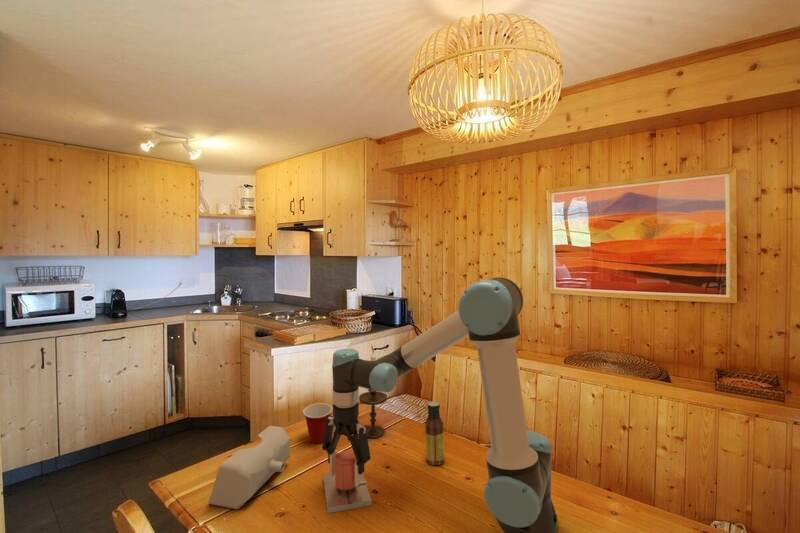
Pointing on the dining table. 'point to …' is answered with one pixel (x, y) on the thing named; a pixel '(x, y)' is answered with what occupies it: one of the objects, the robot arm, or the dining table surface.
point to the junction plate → (345, 495)
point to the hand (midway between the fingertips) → (345, 478)
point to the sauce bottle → (434, 435)
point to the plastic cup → (317, 420)
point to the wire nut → (345, 470)
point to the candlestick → (373, 407)
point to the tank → (250, 469)
